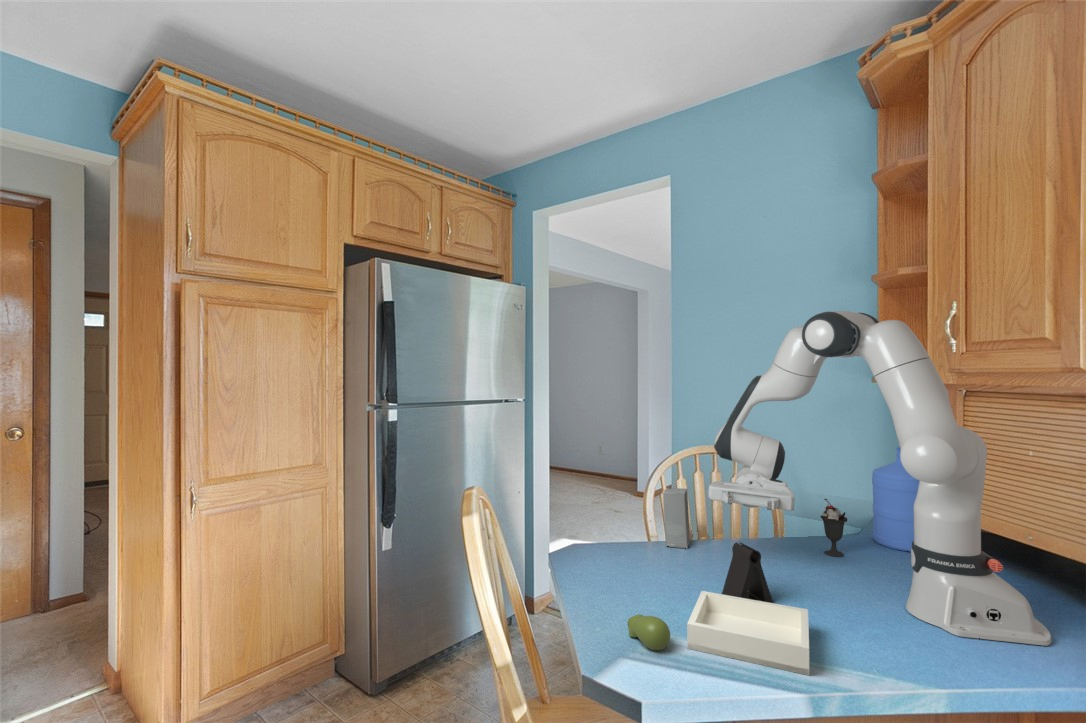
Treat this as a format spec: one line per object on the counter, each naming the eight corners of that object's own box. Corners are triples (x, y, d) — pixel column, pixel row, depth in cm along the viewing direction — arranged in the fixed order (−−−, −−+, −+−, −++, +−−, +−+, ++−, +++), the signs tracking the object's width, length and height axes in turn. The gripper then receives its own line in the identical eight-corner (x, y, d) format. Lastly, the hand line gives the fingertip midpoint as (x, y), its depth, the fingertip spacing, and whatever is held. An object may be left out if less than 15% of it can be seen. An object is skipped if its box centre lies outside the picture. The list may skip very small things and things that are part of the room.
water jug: (950, 555, 144) (948, 453, 145) (887, 551, 147) (886, 451, 148) (920, 537, 160) (918, 445, 160) (863, 534, 163) (862, 444, 163)
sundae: (816, 549, 149) (815, 496, 150) (841, 550, 148) (840, 497, 149) (825, 557, 143) (824, 502, 143) (852, 558, 142) (851, 503, 142)
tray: (808, 632, 102) (807, 609, 102) (809, 675, 88) (809, 648, 88) (701, 612, 111) (701, 590, 111) (687, 648, 96) (687, 623, 96)
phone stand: (737, 609, 112) (737, 552, 112) (721, 597, 118) (720, 543, 118) (773, 604, 115) (772, 548, 115) (755, 593, 120) (754, 540, 121)
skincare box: (687, 549, 149) (687, 493, 150) (662, 546, 152) (662, 491, 152) (690, 540, 157) (690, 487, 158) (666, 538, 160) (666, 485, 160)
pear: (649, 625, 94) (618, 612, 103) (653, 657, 93) (621, 641, 102) (674, 618, 96) (642, 606, 105) (678, 649, 95) (645, 634, 104)
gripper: (710, 472, 144) (705, 485, 131) (793, 482, 136) (796, 496, 123) (709, 495, 144) (704, 510, 131) (792, 506, 136) (794, 523, 123)
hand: (749, 503), depth 127 cm, fingers open, 8 cm apart
